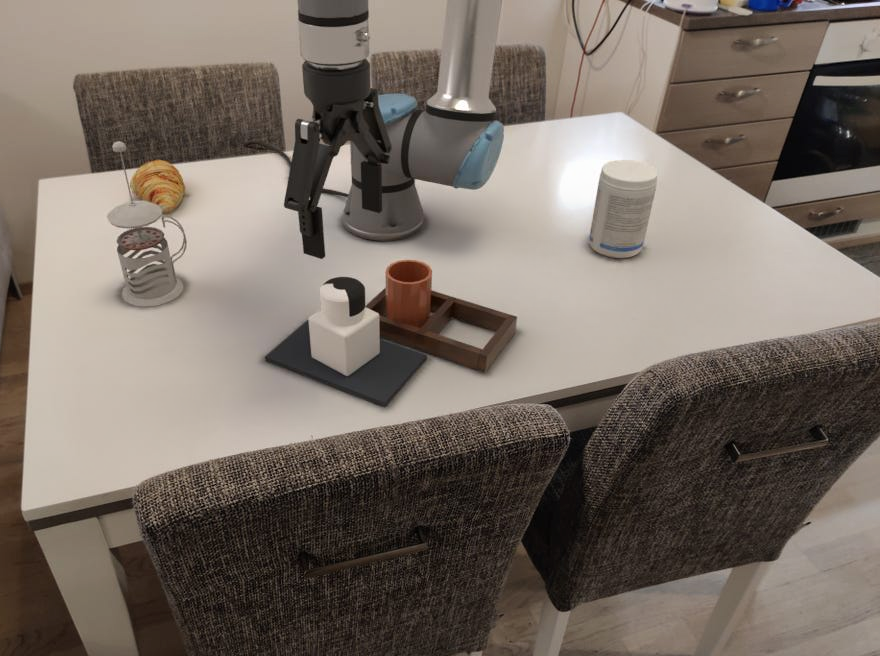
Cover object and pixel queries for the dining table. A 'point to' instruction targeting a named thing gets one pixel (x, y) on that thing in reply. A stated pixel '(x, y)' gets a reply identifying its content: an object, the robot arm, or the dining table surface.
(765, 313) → the dining table surface
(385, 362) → the mat
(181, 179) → the croissant
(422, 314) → the terracotta cup
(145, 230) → the french press
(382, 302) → the cup holder
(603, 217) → the supplement tub
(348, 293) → the medicine bottle
